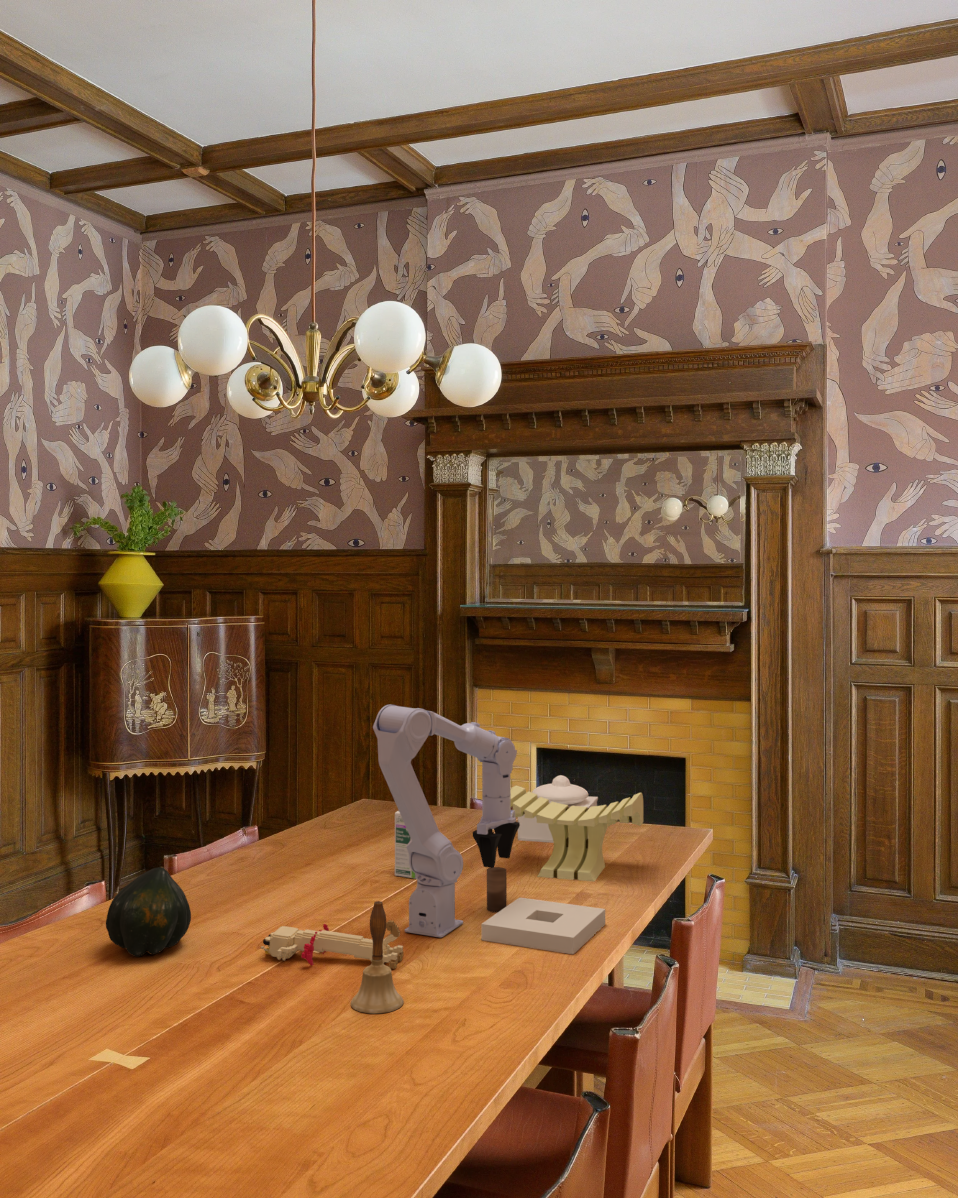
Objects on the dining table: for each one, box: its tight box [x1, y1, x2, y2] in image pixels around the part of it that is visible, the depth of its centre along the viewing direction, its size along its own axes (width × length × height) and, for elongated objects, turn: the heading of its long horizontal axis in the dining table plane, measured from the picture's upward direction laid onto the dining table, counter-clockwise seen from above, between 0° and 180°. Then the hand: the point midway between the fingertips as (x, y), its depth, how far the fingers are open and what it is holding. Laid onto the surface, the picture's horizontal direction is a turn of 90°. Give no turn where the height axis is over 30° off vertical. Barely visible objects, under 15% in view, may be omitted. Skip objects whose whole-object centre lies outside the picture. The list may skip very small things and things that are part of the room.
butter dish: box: [517, 774, 599, 844], centre depth 274 cm, size 18×18×16 cm
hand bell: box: [350, 900, 405, 1015], centre depth 163 cm, size 8×8×16 cm
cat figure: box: [260, 920, 404, 970], centre depth 183 cm, size 10×9×25 cm
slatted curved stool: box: [510, 785, 644, 882], centre depth 240 cm, size 30×16×18 cm, turn 73°
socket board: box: [480, 897, 606, 955], centre depth 197 cm, size 18×18×3 cm
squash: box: [105, 866, 192, 958], centre depth 189 cm, size 14×15×15 cm
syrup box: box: [394, 810, 416, 880], centre depth 236 cm, size 6×6×14 cm
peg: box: [486, 866, 508, 913], centre depth 211 cm, size 4×4×8 cm
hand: (496, 862), depth 211 cm, fingers open, 7 cm apart
